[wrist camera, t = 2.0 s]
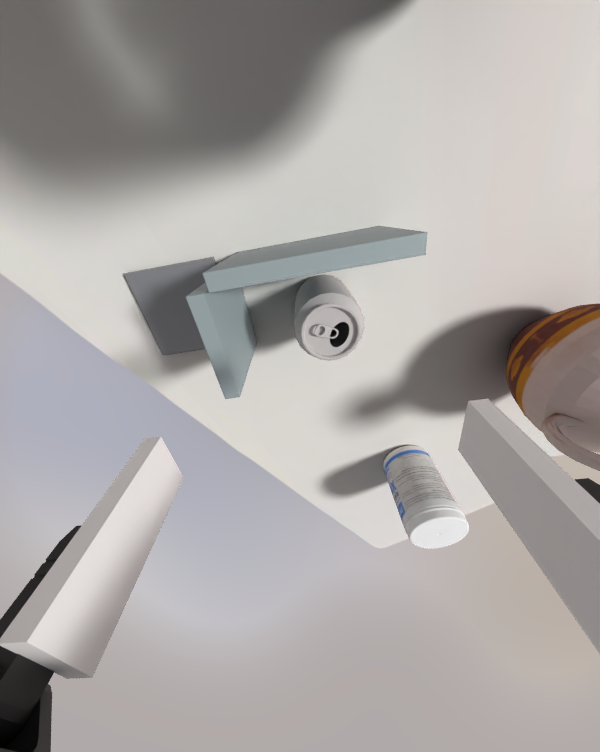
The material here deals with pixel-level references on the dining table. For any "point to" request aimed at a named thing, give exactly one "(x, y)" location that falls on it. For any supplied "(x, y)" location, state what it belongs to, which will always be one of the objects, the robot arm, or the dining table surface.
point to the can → (327, 318)
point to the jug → (561, 380)
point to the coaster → (170, 302)
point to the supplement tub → (424, 498)
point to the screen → (273, 263)
